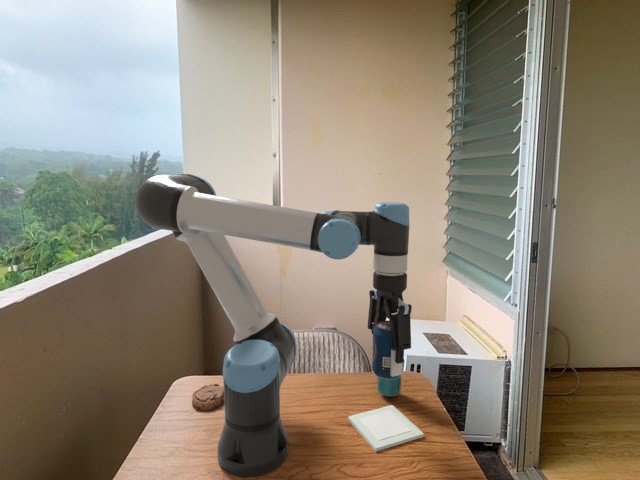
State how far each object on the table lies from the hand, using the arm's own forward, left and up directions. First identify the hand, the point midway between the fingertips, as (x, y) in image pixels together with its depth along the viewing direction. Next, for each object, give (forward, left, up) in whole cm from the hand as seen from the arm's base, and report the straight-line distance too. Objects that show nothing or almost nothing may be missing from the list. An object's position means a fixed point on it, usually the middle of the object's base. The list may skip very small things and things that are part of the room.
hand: (386, 367), depth 96 cm
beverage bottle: (+9, +12, -16) cm, 22 cm away
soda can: (0, 0, -2) cm, 2 cm away
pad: (0, 0, -15) cm, 15 cm away
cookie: (-36, +29, -16) cm, 49 cm away
